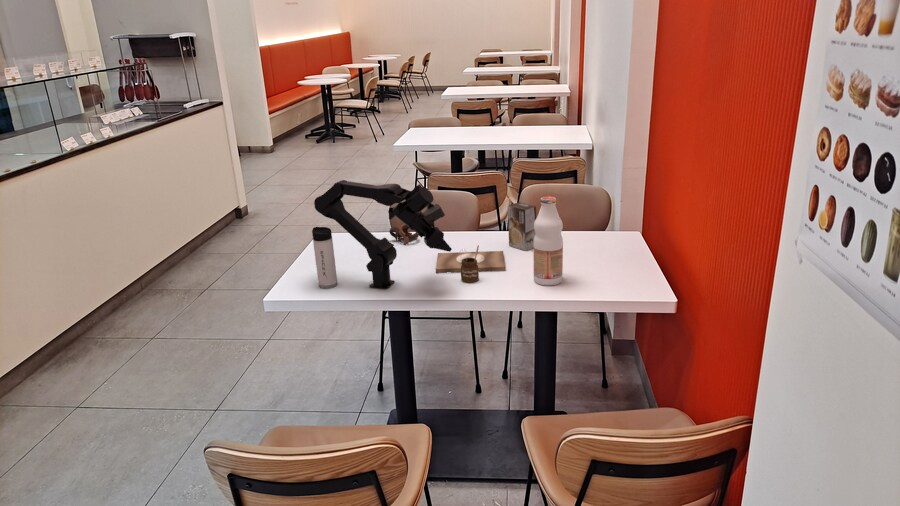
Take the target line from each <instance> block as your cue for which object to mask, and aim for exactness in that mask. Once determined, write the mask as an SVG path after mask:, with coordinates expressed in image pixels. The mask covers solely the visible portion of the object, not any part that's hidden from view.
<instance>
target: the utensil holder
mask: <svg viewBox="0 0 900 506" xmlns="http://www.w3.org/2000/svg"><path fill="white" fill-rule="evenodd" d="M479 245H480V244H477V246H476V250H475V252H476V256H477V253H478V252H479V247H480V246H479ZM462 251H464V252H468V251H467V250H466V249H465V248H462V249H460V250H459V252H462ZM463 254H464V253H463ZM461 256H462V255H461ZM466 256H467V257H466V258H465V257H464V258H465V259H463V260H462V262H461V264H462V265H461V272H460V279H461V281H462V282H463V283H466V284H467V283H475V282H477V281H478V280H479V277H480V276H479V271H478V265H477V260H476V256H475V258H468V255H466ZM461 259H462V258H461Z"/></svg>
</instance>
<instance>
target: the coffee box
mask: <svg viewBox="0 0 900 506" xmlns="http://www.w3.org/2000/svg"><path fill="white" fill-rule="evenodd" d="M507 216H508V219H507V220H508V221H507V222H508V223H507V226H508V247H511V248H515V249H519V250H522V251H525V252H526V251H530V250H532V249H534V247H533V244H534V237H535V230H534V222H535V220H536V218H537V206H536V205H532V204H527V203H524V202H523V203H522V202H519V201H518V202H515V203H512V204H510V205H507Z"/></svg>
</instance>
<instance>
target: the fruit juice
mask: <svg viewBox="0 0 900 506" xmlns="http://www.w3.org/2000/svg"><path fill="white" fill-rule="evenodd" d="M540 205H541V206H540V209H539V211H538V214H537V215H536V220H535V222H534V230H535V237H534V244H533V247H534V248H533V281H534V283H536V284H538V285H540V286H555V285H556V286H557V285H559V284H560V283H562V281H563V269H564V268H563V267H564V266H563V264H564V263H563V262H564V261H563V260H564V254H563V253H564V241H563V236H562V231H563V227H564V224H563V221H562V219H561V217H560V215H559V212H558V209H557V206H556V205H557V198H556V197H555V196H542V197H540Z"/></svg>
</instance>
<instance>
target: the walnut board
mask: <svg viewBox="0 0 900 506" xmlns="http://www.w3.org/2000/svg"><path fill="white" fill-rule="evenodd" d="M463 253H464V254H463ZM461 255H462V256H461ZM466 255H468V258H475V256H476V251H467V252H465V251H459V252H457V251H455V252H438V253H437V259H436V263H435V264H436V266H435V273H436V274H447V272H451V273H454V274H455V273H461V265H462V264H461V262H462V260H463V259H465V258H466V257H467V256H466ZM464 257H465V258H464ZM461 258H462V259H461ZM476 260H477V265H478V271H479V272H481V273H483V272H484V273H485V272H505V271H506V262H505V255H504V250H493V251H492V250H491V251H490V250H489V251H488V250H487V251H478V253H477V256H476ZM451 273H450V274H451Z"/></svg>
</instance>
